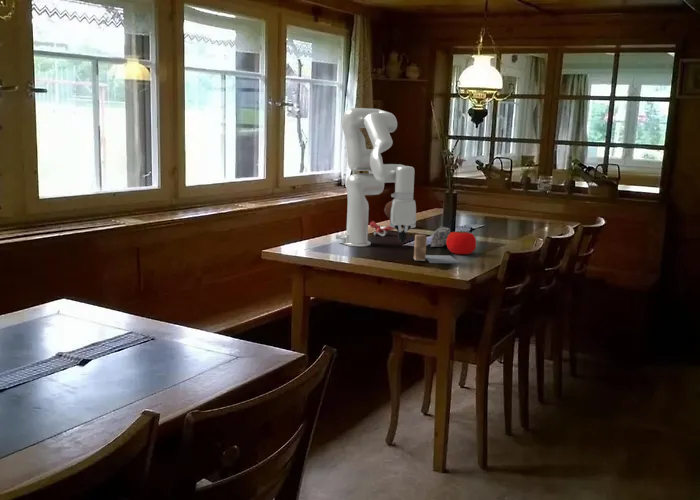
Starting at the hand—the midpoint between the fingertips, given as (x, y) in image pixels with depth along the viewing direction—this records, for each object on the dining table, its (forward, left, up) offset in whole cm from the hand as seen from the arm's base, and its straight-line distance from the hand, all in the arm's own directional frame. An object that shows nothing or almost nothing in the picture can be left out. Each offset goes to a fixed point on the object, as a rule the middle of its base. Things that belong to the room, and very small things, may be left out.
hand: (401, 241), depth 301 cm
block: (+8, 0, -7) cm, 11 cm away
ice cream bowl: (+12, +80, -8) cm, 82 cm away
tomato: (+29, +13, -8) cm, 33 cm away
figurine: (+1, +56, -8) cm, 57 cm away
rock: (+24, +31, -8) cm, 40 cm away
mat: (+17, 0, -7) cm, 18 cm away
